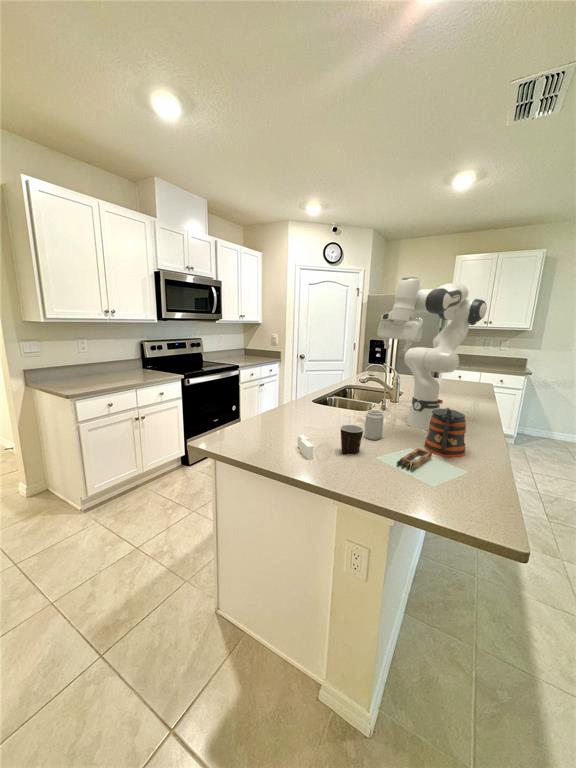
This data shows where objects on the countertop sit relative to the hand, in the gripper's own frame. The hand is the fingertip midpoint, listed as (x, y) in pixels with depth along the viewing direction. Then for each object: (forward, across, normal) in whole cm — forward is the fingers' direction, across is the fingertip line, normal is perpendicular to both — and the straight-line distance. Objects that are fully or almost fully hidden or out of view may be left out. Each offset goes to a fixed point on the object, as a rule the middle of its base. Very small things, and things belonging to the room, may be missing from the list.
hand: (395, 350), depth 130 cm
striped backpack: (+37, -25, -10) cm, 46 cm away
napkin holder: (+44, +2, +37) cm, 58 cm away
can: (+40, +1, +2) cm, 40 cm away
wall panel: (+39, -28, +9) cm, 49 cm away
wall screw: (+39, -29, +16) cm, 51 cm away
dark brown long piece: (+38, -26, +10) cm, 47 cm away
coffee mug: (+42, -7, +24) cm, 49 cm away
